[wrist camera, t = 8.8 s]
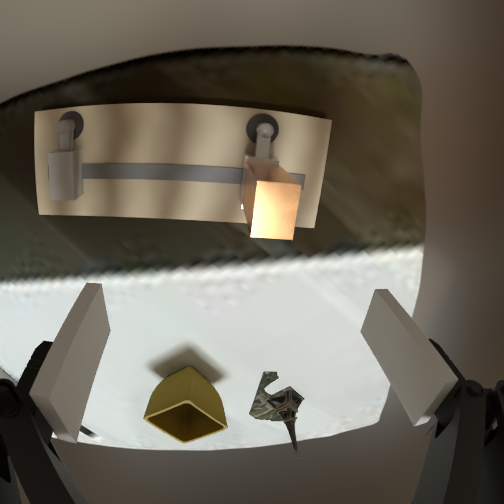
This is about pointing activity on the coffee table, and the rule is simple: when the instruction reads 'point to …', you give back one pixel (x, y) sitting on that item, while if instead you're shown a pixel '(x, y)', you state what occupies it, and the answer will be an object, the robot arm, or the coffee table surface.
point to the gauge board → (168, 159)
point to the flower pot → (186, 407)
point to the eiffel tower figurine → (277, 405)
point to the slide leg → (268, 191)
